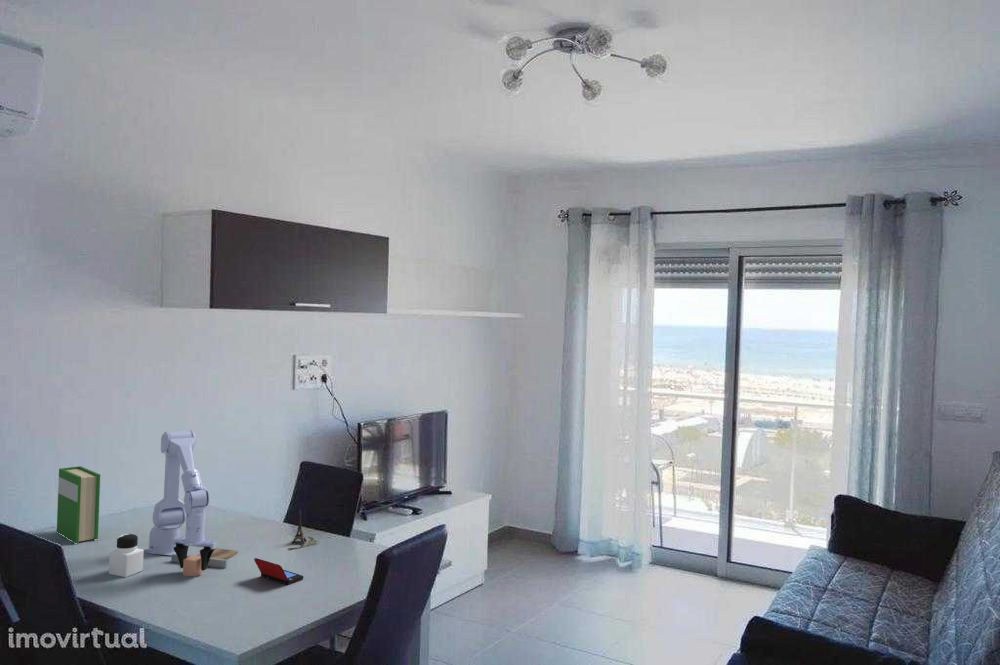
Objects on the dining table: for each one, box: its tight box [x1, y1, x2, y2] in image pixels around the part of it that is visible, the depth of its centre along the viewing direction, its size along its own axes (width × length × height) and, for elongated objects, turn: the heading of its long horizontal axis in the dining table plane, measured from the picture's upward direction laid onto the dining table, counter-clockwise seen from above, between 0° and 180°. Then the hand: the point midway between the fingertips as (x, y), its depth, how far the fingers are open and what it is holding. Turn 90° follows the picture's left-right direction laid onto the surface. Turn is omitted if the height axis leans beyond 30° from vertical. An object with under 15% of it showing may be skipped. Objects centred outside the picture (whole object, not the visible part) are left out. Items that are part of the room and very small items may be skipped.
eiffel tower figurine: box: [287, 508, 319, 551], centre depth 278 cm, size 15×10×13 cm
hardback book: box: [56, 465, 101, 543], centre depth 273 cm, size 18×7×24 cm, turn 50°
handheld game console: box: [253, 557, 304, 586], centre depth 241 cm, size 12×11×7 cm
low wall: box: [170, 553, 229, 569], centre depth 251 cm, size 20×1×2 cm, turn 80°
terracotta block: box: [182, 555, 205, 577], centre depth 242 cm, size 4×4×5 cm
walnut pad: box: [196, 547, 238, 560], centre depth 259 cm, size 10×10×1 cm
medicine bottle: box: [108, 533, 144, 578], centre depth 240 cm, size 7×7×12 cm
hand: (193, 568), depth 242 cm, fingers open, 7 cm apart
